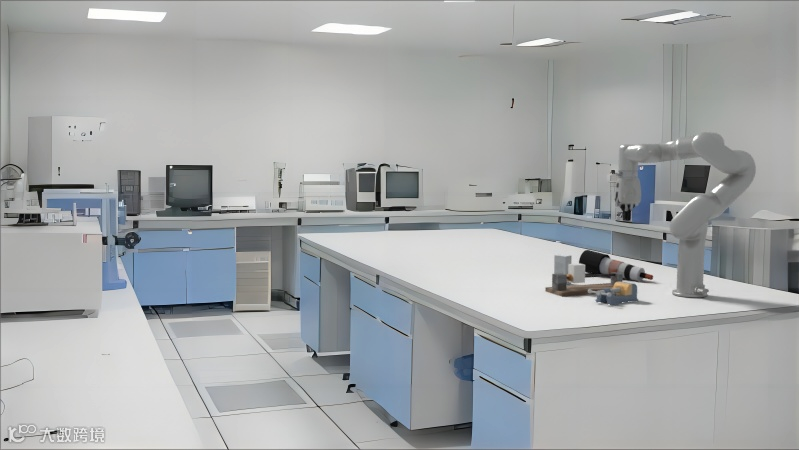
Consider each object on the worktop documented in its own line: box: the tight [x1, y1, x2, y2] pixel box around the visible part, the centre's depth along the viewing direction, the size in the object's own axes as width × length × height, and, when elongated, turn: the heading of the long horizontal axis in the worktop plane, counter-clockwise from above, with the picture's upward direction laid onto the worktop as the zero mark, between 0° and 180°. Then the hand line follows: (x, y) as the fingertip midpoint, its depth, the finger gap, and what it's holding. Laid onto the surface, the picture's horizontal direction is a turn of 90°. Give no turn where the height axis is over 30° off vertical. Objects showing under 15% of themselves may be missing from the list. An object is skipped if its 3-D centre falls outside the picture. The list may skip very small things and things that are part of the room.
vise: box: [588, 281, 639, 306], centre depth 284 cm, size 18×10×7 cm, turn 125°
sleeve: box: [568, 262, 586, 284], centre depth 303 cm, size 4×5×7 cm
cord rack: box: [544, 272, 624, 297], centre depth 305 cm, size 12×30×8 cm, turn 111°
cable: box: [578, 249, 654, 282], centre depth 338 cm, size 10×34×10 cm, turn 41°
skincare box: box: [553, 253, 573, 285], centre depth 323 cm, size 6×4×12 cm
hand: (626, 220), depth 314 cm, fingers closed
